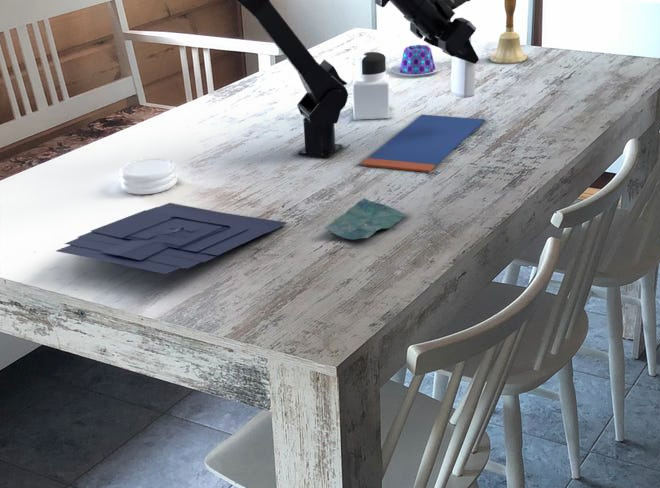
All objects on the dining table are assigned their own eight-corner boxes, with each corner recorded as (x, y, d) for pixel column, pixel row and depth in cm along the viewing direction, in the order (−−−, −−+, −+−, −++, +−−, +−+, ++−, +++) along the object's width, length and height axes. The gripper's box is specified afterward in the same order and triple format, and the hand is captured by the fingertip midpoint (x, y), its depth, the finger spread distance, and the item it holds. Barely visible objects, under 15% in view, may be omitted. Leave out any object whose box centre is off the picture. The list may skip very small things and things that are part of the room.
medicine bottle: (389, 108, 215) (388, 48, 209) (389, 118, 209) (388, 57, 203) (354, 109, 216) (352, 50, 210) (353, 120, 210) (351, 59, 204)
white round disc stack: (126, 199, 181) (123, 179, 180) (117, 181, 190) (115, 162, 188) (182, 189, 183) (179, 170, 181) (171, 172, 192) (169, 153, 190)
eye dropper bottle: (450, 99, 194) (452, 32, 188) (450, 90, 199) (452, 25, 193) (474, 98, 194) (477, 31, 187) (474, 90, 198) (476, 24, 192)
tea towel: (429, 172, 181) (429, 170, 181) (360, 165, 187) (360, 163, 187) (484, 121, 203) (484, 119, 203) (421, 116, 209) (421, 114, 209)
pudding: (382, 69, 241) (382, 46, 239) (430, 61, 244) (430, 38, 241) (403, 81, 232) (403, 57, 229) (452, 73, 234) (453, 49, 231)
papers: (47, 266, 156) (44, 243, 154) (169, 218, 178) (168, 197, 177) (177, 295, 144) (176, 269, 142) (290, 239, 167) (290, 217, 165)
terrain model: (364, 208, 169) (364, 197, 168) (407, 217, 165) (407, 206, 164) (323, 237, 160) (323, 226, 159) (367, 248, 156) (367, 236, 155)
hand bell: (512, 65, 236) (515, -9, 227) (482, 60, 241) (485, -12, 233) (534, 57, 240) (538, -16, 232) (504, 52, 246) (507, -19, 237)
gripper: (466, -28, 176) (523, 32, 183) (426, -43, 191) (480, 13, 199) (422, 26, 178) (479, 83, 186) (386, 7, 194) (440, 60, 202)
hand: (470, 58), depth 193 cm, fingers closed on eye dropper bottle, 5 cm apart
